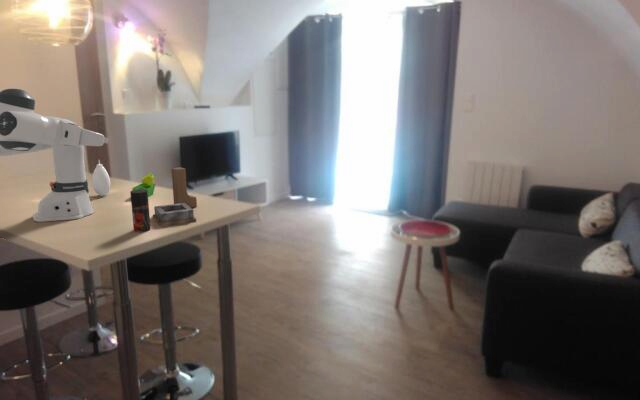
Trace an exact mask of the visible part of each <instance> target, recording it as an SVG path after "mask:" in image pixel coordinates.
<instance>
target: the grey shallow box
mask: <svg viewBox="0 0 640 400" xmlns="http://www.w3.org/2000/svg"><path fill="white" fill-rule="evenodd" d="M153 211H154V214H152V218H153V220H155V222H156V223H157V224H158V225H159V227H165V226H172V225H173V226H174V225H178V224H186V223H194V222H197V217H196V216H194V215H195V214H194V208H193V207H192V208H190V207H189V206H188V205H187V204H186V203H180V204H174V203H172V204H165V205H157V206H155V205H154V209H153Z"/></svg>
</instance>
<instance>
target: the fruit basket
mask: <svg viewBox="0 0 640 400" xmlns="http://www.w3.org/2000/svg"><path fill="white" fill-rule="evenodd" d="M154 182H155V179H154V174H153V173H150V172H149V173H147V175H146V176H144V177H142V179H141V183H140V184H138V185H136V186H134V187H132V188H131V189H132V190H138V189H144V190H147V191H148V198H149V197H151V196H153V195H154V194H155V193H154V192H155V187H156V184H155V183H154ZM132 190H131V191H132Z"/></svg>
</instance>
